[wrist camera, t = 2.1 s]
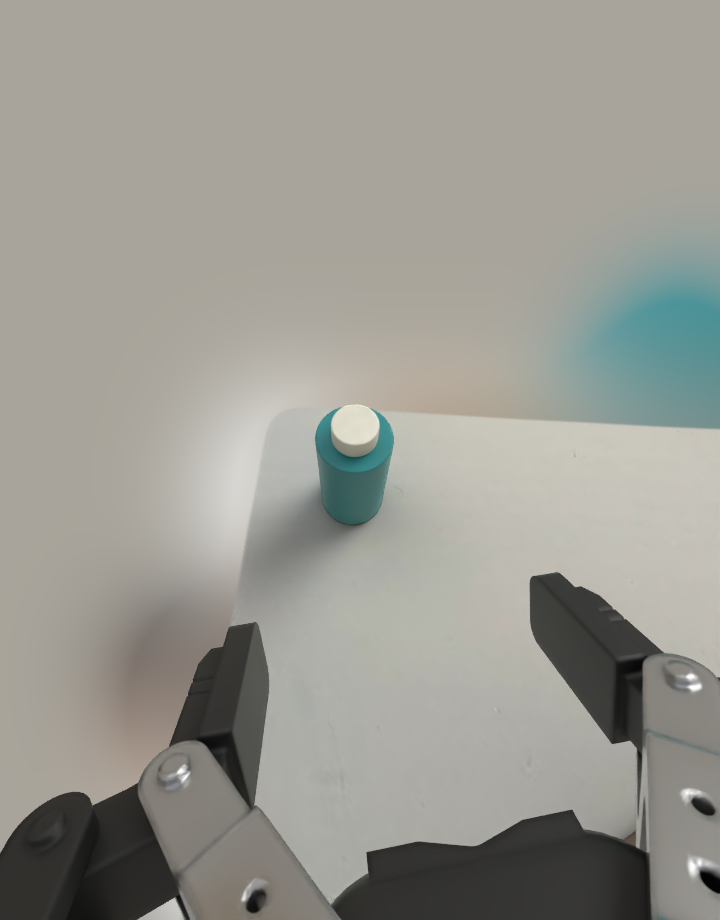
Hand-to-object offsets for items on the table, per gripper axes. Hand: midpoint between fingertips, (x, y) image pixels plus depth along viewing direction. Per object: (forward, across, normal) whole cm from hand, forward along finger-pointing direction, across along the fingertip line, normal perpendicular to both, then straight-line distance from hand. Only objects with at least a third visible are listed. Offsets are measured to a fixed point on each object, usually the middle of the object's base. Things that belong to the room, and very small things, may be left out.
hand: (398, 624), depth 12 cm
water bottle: (+19, 0, +3) cm, 19 cm away
